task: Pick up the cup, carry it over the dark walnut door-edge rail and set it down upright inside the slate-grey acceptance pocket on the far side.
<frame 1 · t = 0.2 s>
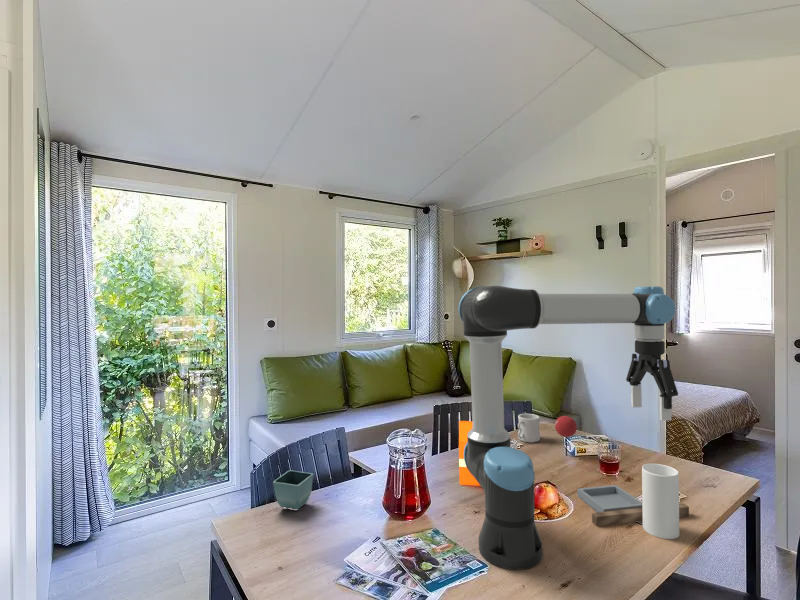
hand: (650, 413, 126), 27 cm above the table, fingers open, 13 cm apart
orange juice: (472, 480, 146), on the table
mug: (526, 440, 184), on the table
lollipop: (566, 455, 166), on the table
door edge rail: (641, 518, 119), on the table
acceptance pocket: (610, 504, 128), on the table
cup: (660, 531, 114), on the table
flower pot: (294, 507, 130), on the table
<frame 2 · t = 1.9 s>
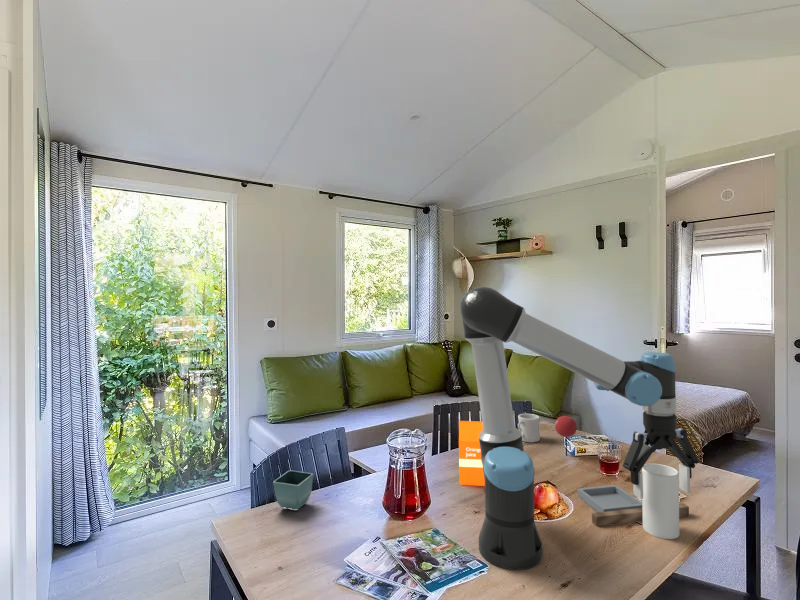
hand: (661, 493, 113), 10 cm above the table, fingers open, 13 cm apart
nothing on the table moved.
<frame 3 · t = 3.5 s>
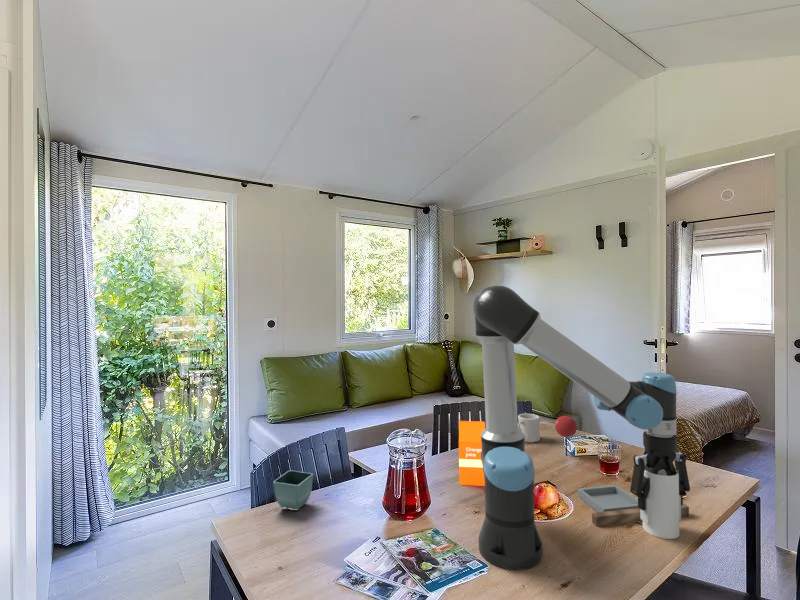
hand: (660, 519, 113), 3 cm above the table, fingers closed on cup, 8 cm apart
cup: (660, 531, 114), on the table, touching gripper
everything else where it was.
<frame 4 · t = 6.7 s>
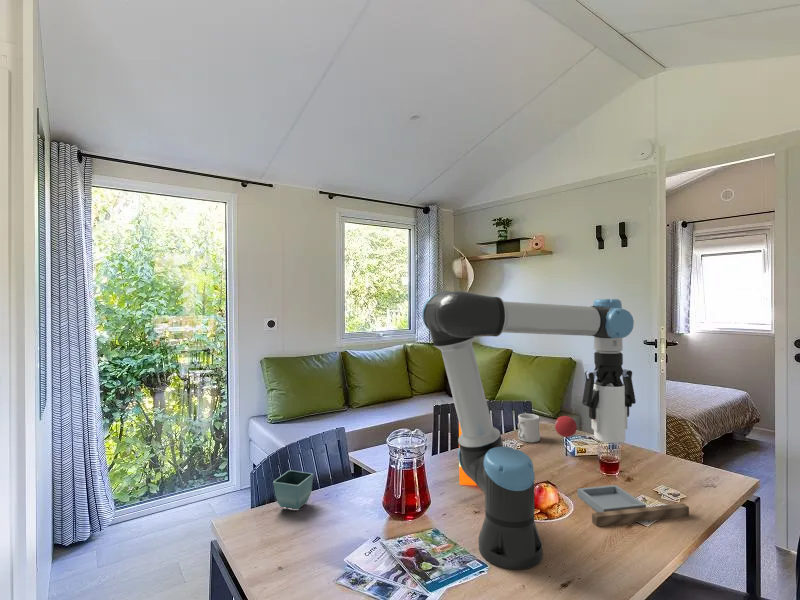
hand: (609, 428, 127), 22 cm above the table, fingers closed on cup, 8 cm apart
cup: (609, 439, 127), point 19 cm above the table, touching gripper
everything else where it was.
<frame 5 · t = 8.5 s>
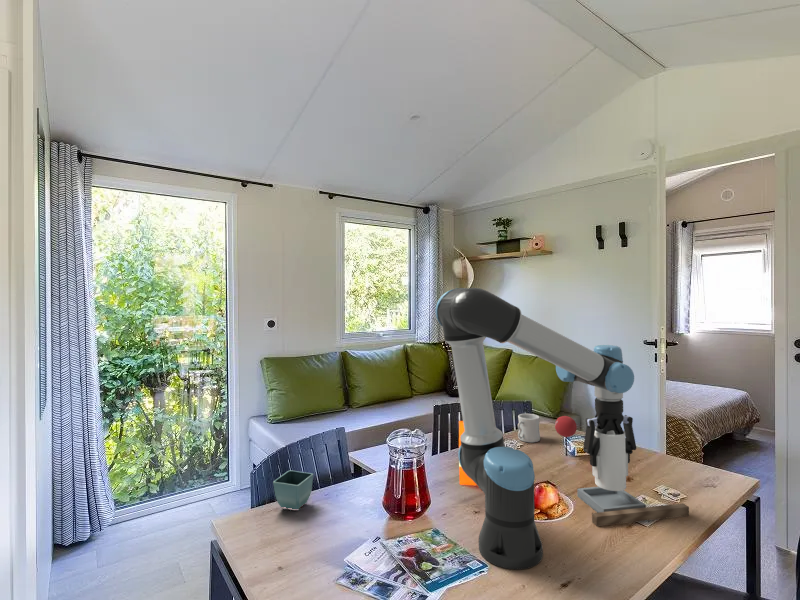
hand: (610, 475, 128), 9 cm above the table, fingers closed on cup, 8 cm apart
cup: (610, 485, 128), point 6 cm above the table, touching gripper
everything else where it was.
when the fingers open (6 cm above the table, at t = 9.9 s): cup drops 2 cm, resting on acceptance pocket.
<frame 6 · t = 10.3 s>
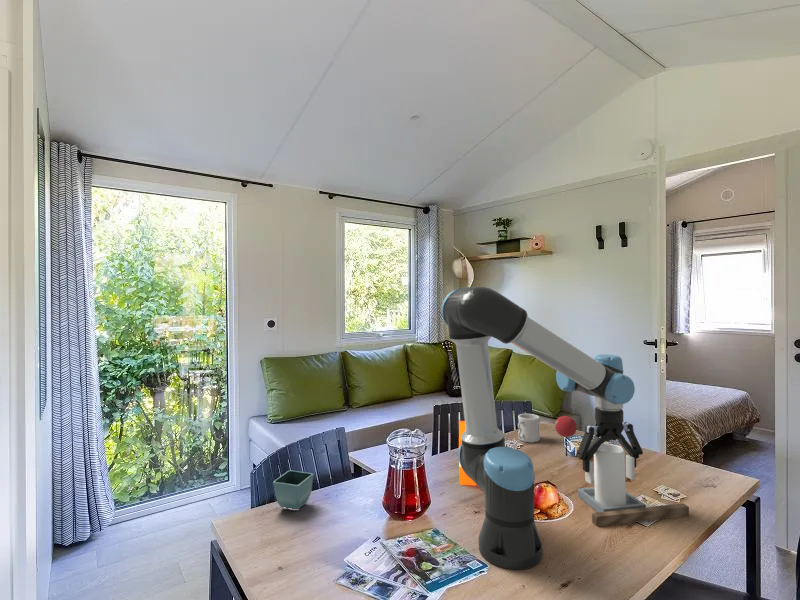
hand: (609, 480, 128), 7 cm above the table, fingers open, 13 cm apart
cup: (610, 502, 128), resting on acceptance pocket
everything else where it was.
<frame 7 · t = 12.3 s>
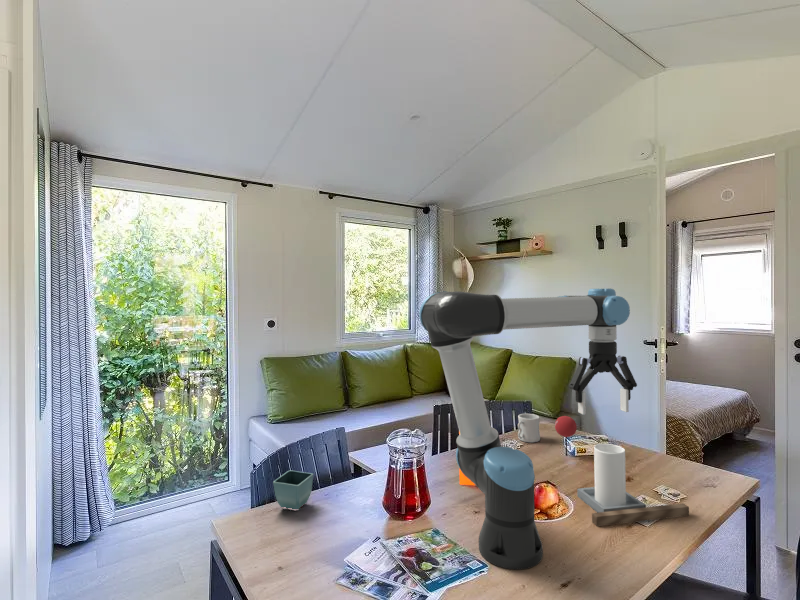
hand: (603, 412, 129), 27 cm above the table, fingers open, 13 cm apart
nothing on the table moved.
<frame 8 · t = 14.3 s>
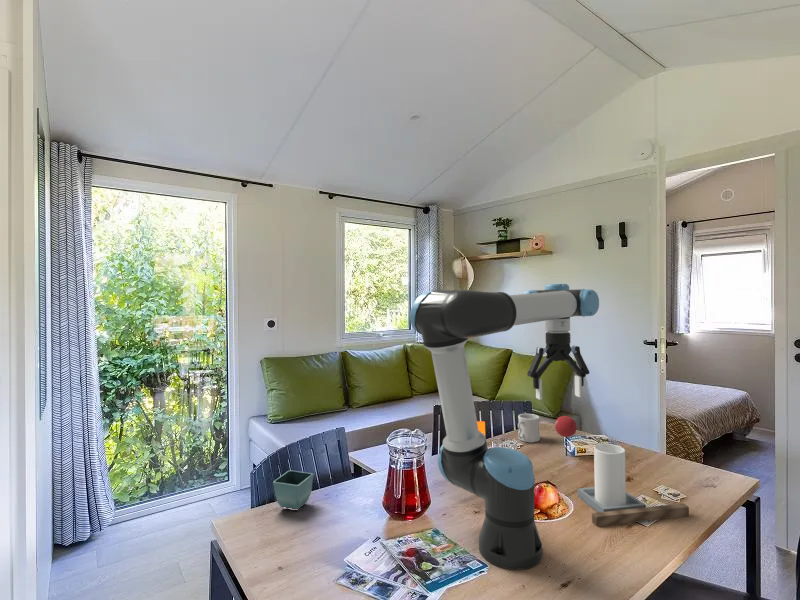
hand: (558, 397, 140), 29 cm above the table, fingers open, 13 cm apart
nothing on the table moved.
at the end: cup inside the target area on the acceptance pocket (0.0 cm from its centre), point 0.4 cm above the acceptance pocket's base; cup tilted 0°; the gripper is holding nothing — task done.
